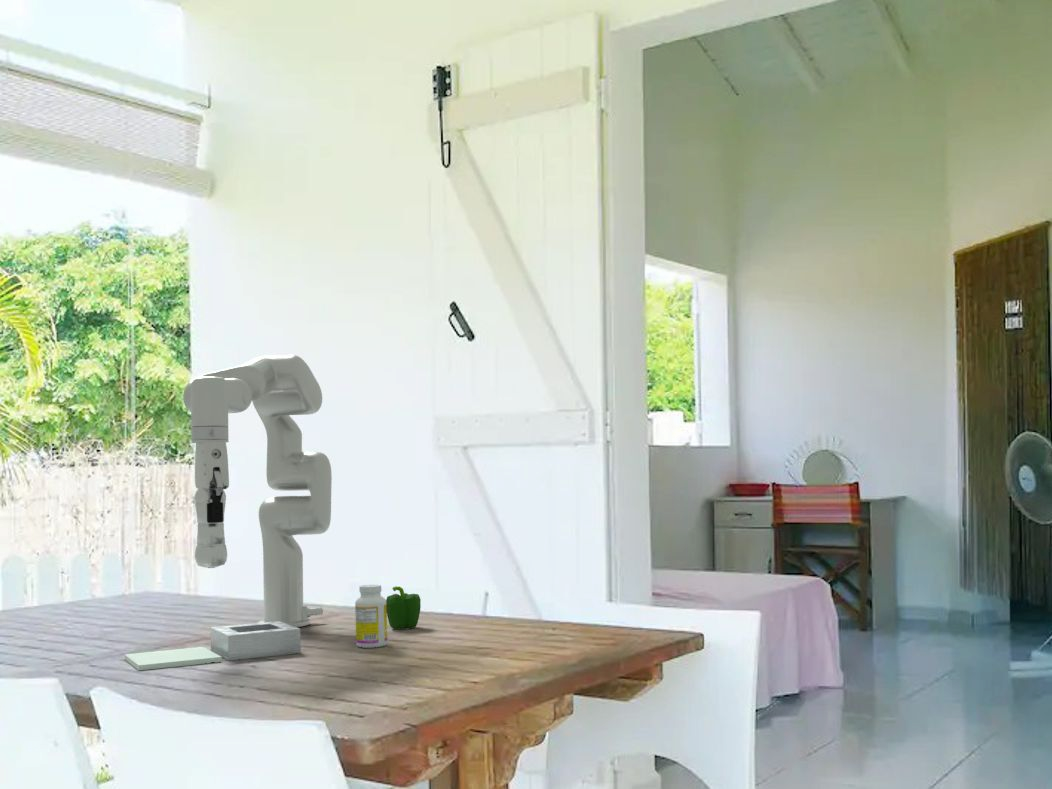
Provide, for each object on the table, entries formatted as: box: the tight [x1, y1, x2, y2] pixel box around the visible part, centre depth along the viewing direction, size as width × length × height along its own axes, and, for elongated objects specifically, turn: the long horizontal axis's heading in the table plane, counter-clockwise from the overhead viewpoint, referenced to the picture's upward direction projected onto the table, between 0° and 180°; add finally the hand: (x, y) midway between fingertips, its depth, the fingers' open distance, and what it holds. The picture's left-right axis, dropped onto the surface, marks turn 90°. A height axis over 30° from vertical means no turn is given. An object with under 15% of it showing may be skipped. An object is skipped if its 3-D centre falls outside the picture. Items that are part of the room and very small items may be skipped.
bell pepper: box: [385, 585, 422, 630], centre depth 272 cm, size 8×8×10 cm
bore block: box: [210, 621, 302, 661], centre depth 241 cm, size 15×15×5 cm
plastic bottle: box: [193, 486, 228, 569], centre depth 239 cm, size 6×7×20 cm
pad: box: [124, 646, 223, 671], centre depth 233 cm, size 16×16×1 cm
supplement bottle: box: [354, 584, 388, 649], centre depth 246 cm, size 7×7×13 cm
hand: (210, 521), depth 239 cm, fingers closed on plastic bottle, 6 cm apart
